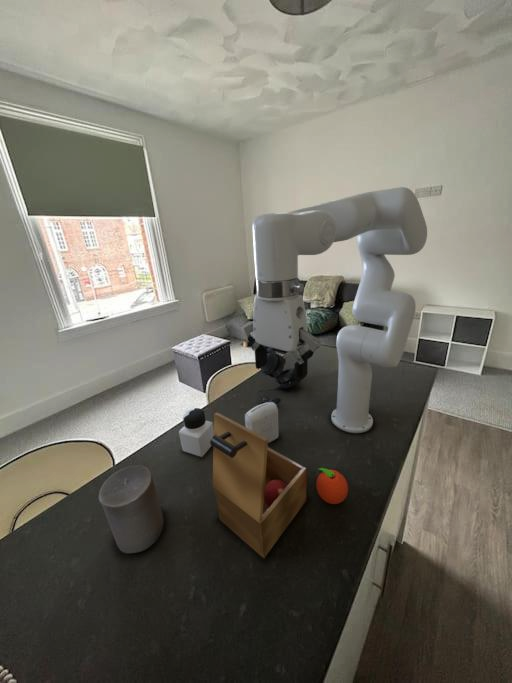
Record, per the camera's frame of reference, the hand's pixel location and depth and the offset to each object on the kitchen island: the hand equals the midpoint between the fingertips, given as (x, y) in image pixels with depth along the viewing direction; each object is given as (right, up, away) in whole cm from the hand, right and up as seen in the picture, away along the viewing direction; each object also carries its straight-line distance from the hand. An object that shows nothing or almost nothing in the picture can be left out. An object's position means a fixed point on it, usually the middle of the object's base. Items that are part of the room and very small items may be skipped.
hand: (280, 372), depth 56 cm
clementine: (+12, -30, +8) cm, 33 cm away
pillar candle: (-30, -35, +3) cm, 46 cm away
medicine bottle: (-22, -25, +26) cm, 42 cm away
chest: (-3, -32, +6) cm, 32 cm away
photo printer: (-3, -24, +27) cm, 36 cm away
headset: (+6, -13, +52) cm, 54 cm away
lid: (-8, -17, -5) cm, 19 cm away
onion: (-1, -29, +7) cm, 30 cm away
